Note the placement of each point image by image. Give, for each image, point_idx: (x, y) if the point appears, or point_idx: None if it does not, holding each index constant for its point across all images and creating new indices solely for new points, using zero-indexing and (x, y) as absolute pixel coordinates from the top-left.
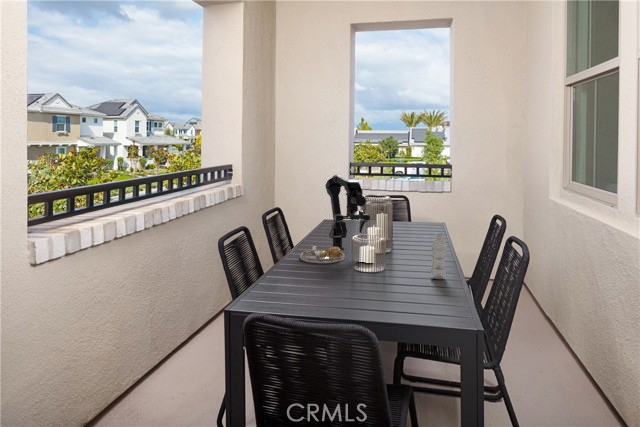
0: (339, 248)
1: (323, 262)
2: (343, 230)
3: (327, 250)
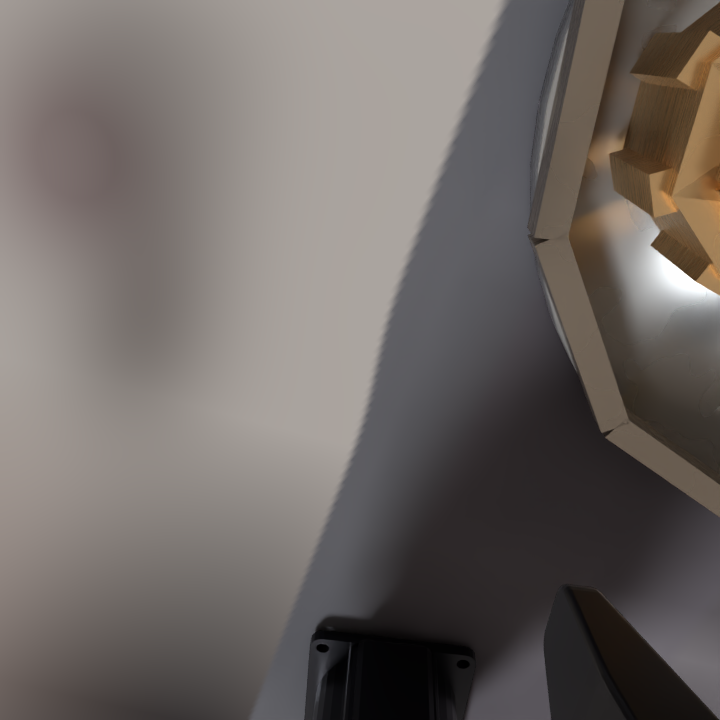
0: (679, 187)
1: None
2: (654, 702)
3: (717, 480)
